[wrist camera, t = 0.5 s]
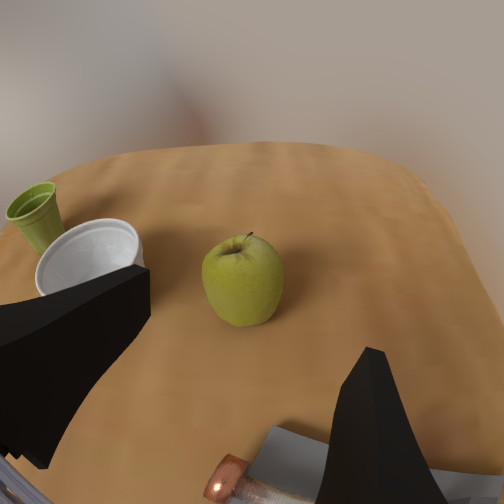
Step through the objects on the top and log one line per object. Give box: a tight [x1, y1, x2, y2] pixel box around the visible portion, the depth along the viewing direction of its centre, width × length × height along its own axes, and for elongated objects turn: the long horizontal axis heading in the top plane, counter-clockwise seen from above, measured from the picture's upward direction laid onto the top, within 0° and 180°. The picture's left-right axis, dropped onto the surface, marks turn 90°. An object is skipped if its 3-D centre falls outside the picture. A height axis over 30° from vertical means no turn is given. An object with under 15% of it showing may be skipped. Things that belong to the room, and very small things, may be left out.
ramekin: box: [35, 218, 145, 296], centre depth 32 cm, size 13×13×7 cm
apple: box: [202, 232, 284, 328], centre depth 30 cm, size 8×8×10 cm
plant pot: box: [5, 182, 65, 254], centre depth 39 cm, size 9×9×9 cm
